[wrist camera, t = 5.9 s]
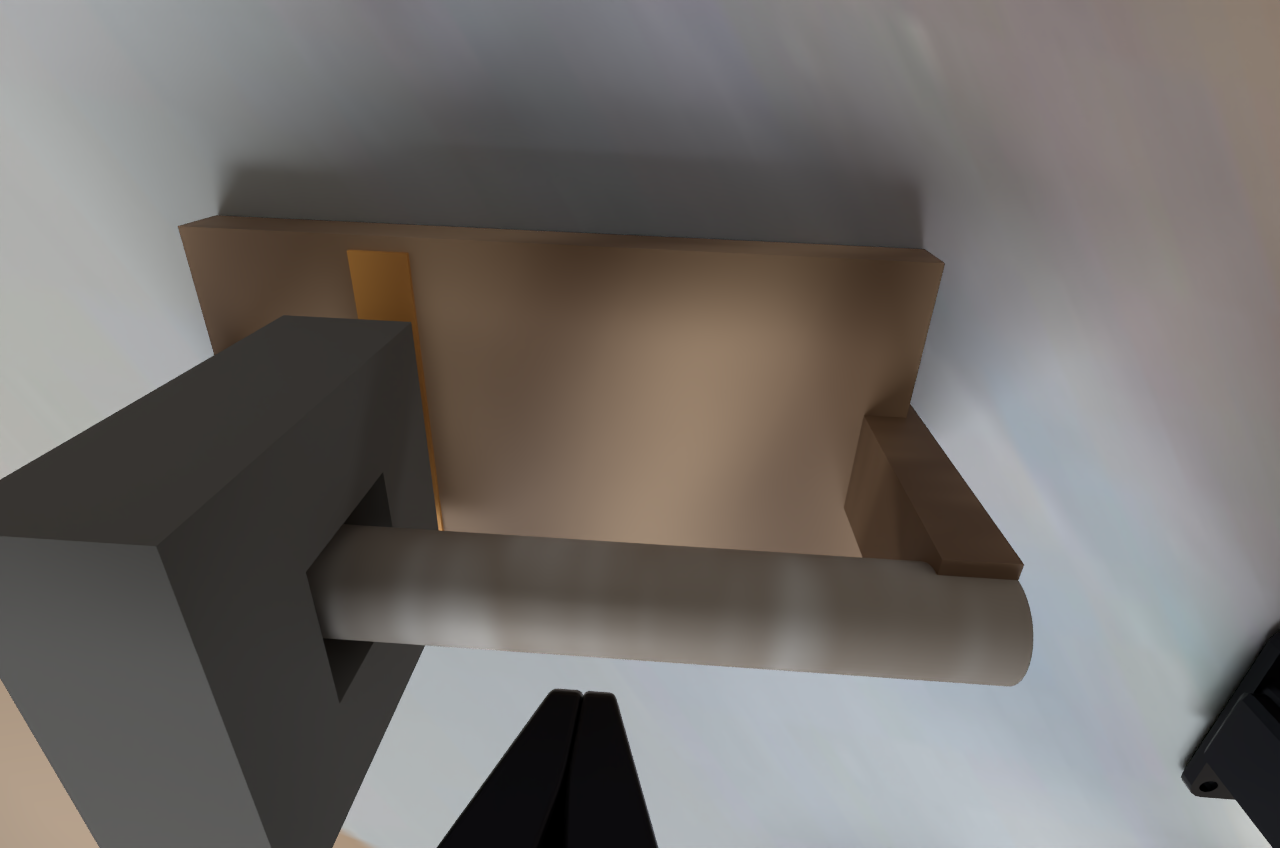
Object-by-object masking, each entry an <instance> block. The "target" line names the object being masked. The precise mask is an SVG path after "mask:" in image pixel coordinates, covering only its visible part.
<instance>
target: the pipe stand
mask: <svg viewBox="0 0 1280 848" xmlns="http://www.w3.org/2000/svg"><path fill="white" fill-rule="evenodd" d="M178 228H179V232H180V235H181V239H182V242H183V246H184V250H185V253H186V257H187V260H188V264H189V267H190V271H191V274H192V278H193V281H194V285H195V288H196V292H197V295H198V299H199V303H200V306H201V310H202V313H203V317H204V320H205V324H206V327H207V331H208V334H209V338H210V341H211V345H212V348H213V352H214V355H216V354H218V353H219V352H221V351H223V350H224V349H226V348H228V347H230V346H231V345H233V344H235V343H236V342H238V341H240V340H242V339H243V338H245V337H247V336H249V335H250V334H252V333H254V332H255V331H257V330H259V329H261V328H262V327H264V326H266V325H267V324H269V323H271V322H273V321H274V320H276V319H278V318H279V317H281V316H283V315H290V316H308V317H327V318H346V319H365V320H384V321H403V322H411V324H412V331H413V339H414V346H415V354H416V362H417V369H418V377H419V385H420V392H421V400H422V407H423V415H424V423H425V430H426V438H427V445H428V453H429V461H430V468H431V476H432V483H433V491H434V499H435V506H436V514H437V521H438V529H439V530H424V529H409V528H393V527H378V526H362V525H347V524H343V525H342V526H341V527H340V528H339V530H338V531H337V532H336V534H335V535H334V536H333V537H332V539H331V540H330V541H329V543H328V544H327V545H326V547H325V548H324V549H323V550H322V552H321V553H320V554H319V556H318V557H317V558H316V560H315V561H314V562H313V563H312V565H311V566H310V567H309V569H308V570H307V571H306V575H307V579H308V583H309V587H310V591H311V595H312V598H313V602H314V606H315V610H316V614H317V618H318V622H319V626H320V630H321V634H322V638H329V639H343V640H357V641H371V642H386V643H400V644H414V645H428V646H442V647H457V648H471V649H485V650H499V651H513V652H528V653H542V654H556V655H570V656H584V657H599V658H613V659H627V660H641V661H655V662H669V663H684V664H698V665H712V666H726V667H740V668H755V669H769V670H783V671H797V672H811V673H826V674H840V675H854V676H868V677H882V678H897V679H911V680H925V681H939V682H953V683H968V684H982V685H996V686H1014V685H1016V684H1018V683H1019V682H1020V681H1021V680H1022V679H1023V677H1024V676H1025V674H1026V672H1027V670H1028V667H1029V665H1030V661H1031V657H1032V650H1033V624H1032V617H1031V612H1030V607H1029V604H1028V600H1027V598H1026V595H1025V592H1024V590H1023V588H1022V586H1021V584H1020V583H1019V581H1018V579H1019V577H1020V574H1021V572H1022V569H1023V566H1024V564H1023V562H1022V561H1021V560H1020V558H1019V557H1018V555H1017V554H1016V553H1015V551H1014V550H1013V548H1012V547H1011V545H1010V544H1009V543H1008V541H1007V540H1006V538H1005V537H1004V536H1003V534H1002V533H1001V531H1000V530H999V529H998V527H997V526H996V524H995V523H994V521H993V520H992V519H991V517H990V516H989V514H988V513H987V512H986V510H985V509H984V507H983V506H982V505H981V503H980V502H979V500H978V499H977V497H976V496H975V495H974V493H973V492H972V490H971V489H970V488H969V486H968V485H967V483H966V482H965V481H964V479H963V478H962V476H961V475H960V473H959V472H958V471H957V469H956V468H955V466H954V465H953V464H952V462H951V461H950V459H949V458H948V457H947V455H946V454H945V452H944V451H943V450H942V448H941V447H940V445H939V444H938V442H937V441H936V440H935V438H934V437H933V435H932V434H931V433H930V431H929V430H928V428H927V427H926V426H925V424H924V423H923V421H922V420H921V418H920V417H919V416H918V414H917V413H916V411H915V410H914V409H913V407H912V406H911V404H910V401H911V397H912V393H913V389H914V385H915V381H916V377H917V373H918V369H919V365H920V361H921V357H922V353H923V349H924V345H925V341H926V337H927V333H928V329H929V325H930V321H931V317H932V313H933V309H934V305H935V301H936V297H937V293H938V289H939V285H940V281H941V277H942V273H943V269H944V265H945V263H944V262H942V261H941V260H939V259H938V258H936V257H935V256H934V255H932V254H931V253H929V252H928V251H926V250H925V249H910V248H889V247H868V246H847V245H826V244H805V243H784V242H763V241H742V240H721V239H700V238H679V237H658V236H637V235H617V234H596V233H575V232H554V231H533V230H512V229H491V228H470V227H449V226H428V225H407V224H386V223H365V222H344V221H323V220H302V219H281V218H260V217H239V216H219V215H216V216H212V217H209V218H205V219H201V220H198V221H194V222H191V223H187V224H184V225H180V226H178Z"/></svg>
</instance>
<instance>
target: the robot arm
mask: <svg viewBox="0 0 1280 848" xmlns="http://www.w3.org/2000/svg"><path fill="white" fill-rule="evenodd" d="M1181 778H1182V780H1183V782H1184V783H1185V785H1186V786H1187V787H1188V789H1189V790H1190V792H1191V793H1192V794H1194V795H1195V796H1199V797H1208V798H1221V799H1234V800H1236V801H1237V802H1238V803H1239V805H1240V806H1241V807H1242V809H1243V810H1244V811H1245V813H1246V814H1247V815H1248V816H1249V818H1250V819H1251V820H1252V822H1253V823H1254V824H1255V825H1256V827H1257V828H1258V829H1259V831H1260V832H1261V833H1262V835H1263V836H1264V837H1265V838H1266V840H1267V841H1268V842H1269V844H1270V845H1271V846H1272V848H1280V632H1278V633H1277V634H1275V635H1273V636H1272V637H1271V639H1270V640H1269V641H1268V642H1267V644H1266V645H1265V647H1264V648H1263V650H1262V651H1261V653H1260V654H1259V656H1258V658H1257V659H1256V661H1255V662H1254V664H1253V665H1252V667H1251V668H1250V670H1249V671H1248V673H1247V674H1246V676H1245V678H1244V679H1243V681H1242V682H1241V684H1240V685H1239V687H1238V688H1237V690H1236V691H1235V693H1234V694H1233V696H1232V698H1231V699H1230V701H1229V702H1228V704H1227V705H1226V707H1225V708H1224V710H1223V711H1222V713H1221V714H1220V716H1219V718H1218V719H1217V721H1216V722H1215V724H1214V725H1213V727H1212V728H1211V730H1210V731H1209V733H1208V734H1207V736H1206V737H1205V739H1204V741H1203V742H1202V744H1201V745H1200V747H1199V748H1198V750H1197V751H1196V753H1195V754H1194V756H1193V757H1192V759H1191V761H1190V762H1189V764H1188V765H1187V767H1186V768H1185V770H1184V771H1183V773H1182V776H1181ZM437 848H658V845H657V841H656V838H655V834H654V831H653V827H652V824H651V820H650V817H649V813H648V809H647V806H646V802H645V799H644V795H643V792H642V788H641V785H640V781H639V777H638V774H637V770H636V767H635V763H634V760H633V756H632V753H631V749H630V746H629V742H628V738H627V735H626V731H625V728H624V724H623V721H622V717H621V714H620V710H619V706H618V703H617V699H616V697H615V695H614V694H612V693H608V692H595V691H588V692H586V693H585V694H584V695H583V694H582V692H580V691H578V690H568V689H554V690H552V691H551V692H550V693H549V694H548V695H547V696H546V698H545V699H544V700H543V702H542V703H541V704H540V706H539V707H538V709H537V710H536V711H535V713H534V714H533V715H532V717H531V718H530V720H529V721H528V722H527V724H526V725H525V726H524V728H523V729H522V731H521V732H520V733H519V735H518V736H517V738H516V739H515V740H514V742H513V743H512V744H511V746H510V747H509V749H508V750H507V751H506V753H505V754H504V755H503V757H502V758H501V760H500V761H499V762H498V764H497V765H496V766H495V768H494V769H493V771H492V772H491V773H490V775H489V776H488V778H487V779H486V780H485V782H484V783H483V784H482V786H481V787H480V789H479V790H478V791H477V793H476V794H475V795H474V797H473V798H472V800H471V801H470V802H469V804H468V805H467V807H466V808H465V809H464V811H463V812H462V813H461V815H460V816H459V818H458V819H457V820H456V822H455V823H454V824H453V826H452V827H451V829H450V830H449V831H448V833H447V834H446V835H445V837H444V838H443V840H442V841H441V842H440V844H439V845H438V847H437Z"/></svg>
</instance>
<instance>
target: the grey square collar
mask: <svg viewBox="0 0 1280 848" xmlns="http://www.w3.org/2000/svg"><path fill="white" fill-rule="evenodd" d="M343 524H347V525H362V526H378V527H393V528H409V529H424V530H439V529H438V521H437V514H436V506H435V499H434V491H433V483H432V476H431V468H430V461H429V453H428V445H427V438H426V430H425V423H424V415H423V407H422V400H421V392H420V385H419V377H418V369H417V362H416V354H415V346H414V339H413V331H412V324H411V322H403V321H384V320H365V319H346V318H327V317H308V316H290V315H283V316H281V317H279V318H278V319H276V320H274V321H273V322H271V323H269V324H267V325H266V326H264V327H262V328H261V329H259V330H257V331H255V332H254V333H252V334H250V335H249V336H247V337H245V338H243V339H242V340H240V341H238V342H236V343H235V344H233V345H231V346H230V347H228V348H226V349H224V350H223V351H221V352H219V353H218V354H216V355H214V356H212V357H211V358H209V359H207V360H205V361H204V362H202V363H200V364H199V365H197V366H195V367H193V368H192V369H190V370H188V371H187V372H185V373H183V374H181V375H180V376H178V377H176V378H175V379H173V380H171V381H169V382H168V383H166V384H164V385H162V386H161V387H159V388H157V389H156V390H154V391H152V392H150V393H149V394H147V395H145V396H144V397H142V398H140V399H138V400H137V401H135V402H133V403H132V404H130V405H128V406H126V407H125V408H123V409H121V410H119V411H118V412H116V413H114V414H113V415H111V416H109V417H107V418H106V419H104V420H102V421H101V422H99V423H97V424H95V425H94V426H92V427H90V428H89V429H87V430H85V431H83V432H82V433H80V434H78V435H76V436H75V437H73V438H71V439H70V440H68V441H66V442H64V443H63V444H61V445H59V446H58V447H56V448H54V449H52V450H51V451H49V452H47V453H45V454H44V455H42V456H40V457H39V458H37V459H35V460H33V461H32V462H30V463H28V464H27V465H25V466H23V467H21V468H20V469H18V470H16V471H15V472H13V473H11V474H9V475H8V476H6V477H4V478H2V479H1V480H0V679H1V681H2V682H3V684H4V685H5V687H6V689H7V691H8V692H9V694H10V696H11V698H12V699H13V701H14V703H15V704H16V706H17V708H18V709H19V711H20V713H21V715H22V716H23V718H24V720H25V721H26V723H27V724H28V727H29V728H30V730H31V732H32V733H33V735H34V737H35V738H36V740H37V742H38V743H39V745H40V747H41V749H42V750H43V752H44V754H45V755H46V757H47V759H48V761H49V762H50V764H51V766H52V767H53V769H54V771H55V773H56V774H57V776H58V778H59V779H60V781H61V783H62V784H63V786H64V788H65V789H66V791H67V793H68V795H69V796H70V798H71V800H72V801H73V803H74V805H75V807H76V808H77V810H78V812H79V813H80V815H81V817H82V818H83V820H84V822H85V824H86V825H87V827H88V829H89V830H90V832H91V834H92V836H93V837H94V839H95V840H96V842H97V844H98V846H99V847H100V848H332V847H333V845H334V843H335V841H336V838H337V836H338V834H339V832H340V830H341V827H342V825H343V823H344V821H345V819H346V817H347V814H348V812H349V810H350V808H351V806H352V804H353V801H354V799H355V797H356V795H357V793H358V790H359V788H360V786H361V784H362V782H363V780H364V777H365V775H366V773H367V771H368V769H369V766H370V764H371V762H372V760H373V758H374V756H375V753H376V751H377V749H378V747H379V745H380V742H381V740H382V738H383V736H384V734H385V732H386V729H387V727H388V725H389V723H390V721H391V718H392V716H393V714H394V712H395V710H396V708H397V705H398V703H399V701H400V699H401V697H402V694H403V692H404V690H405V688H406V686H407V684H408V681H409V679H410V677H411V675H412V673H413V670H414V668H415V666H416V664H417V662H418V660H419V657H420V655H421V653H422V651H423V649H424V646H425V645H414V644H400V643H386V642H371V641H357V640H343V639H329V638H322V634H321V630H320V626H319V622H318V618H317V614H316V610H315V606H314V602H313V598H312V595H311V591H310V587H309V583H308V579H307V575H306V571H307V570H308V569H309V567H310V566H311V565H312V563H313V562H314V561H315V560H316V558H317V557H318V556H319V554H320V553H321V552H322V550H323V549H324V548H325V547H326V545H327V544H328V543H329V541H330V540H331V539H332V537H333V536H334V535H335V534H336V532H337V531H338V530H339V528H340V527H341V526H342V525H343Z"/></svg>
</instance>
